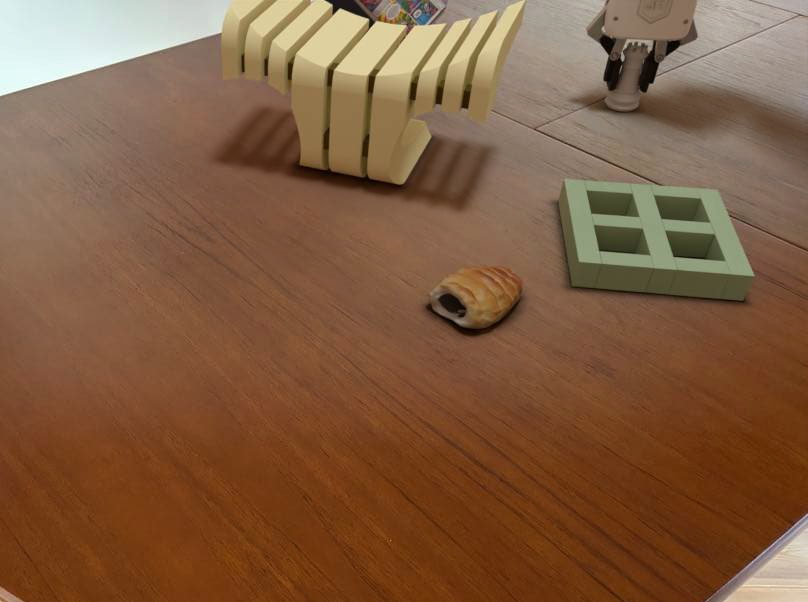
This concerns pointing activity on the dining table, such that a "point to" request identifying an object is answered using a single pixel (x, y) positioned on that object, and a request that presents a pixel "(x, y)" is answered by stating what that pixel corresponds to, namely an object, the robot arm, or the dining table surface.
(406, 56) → the slatted curved stool
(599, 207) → the window frame
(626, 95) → the rook chess piece
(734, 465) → the dining table surface
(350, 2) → the colorful printed box
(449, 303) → the pastry
